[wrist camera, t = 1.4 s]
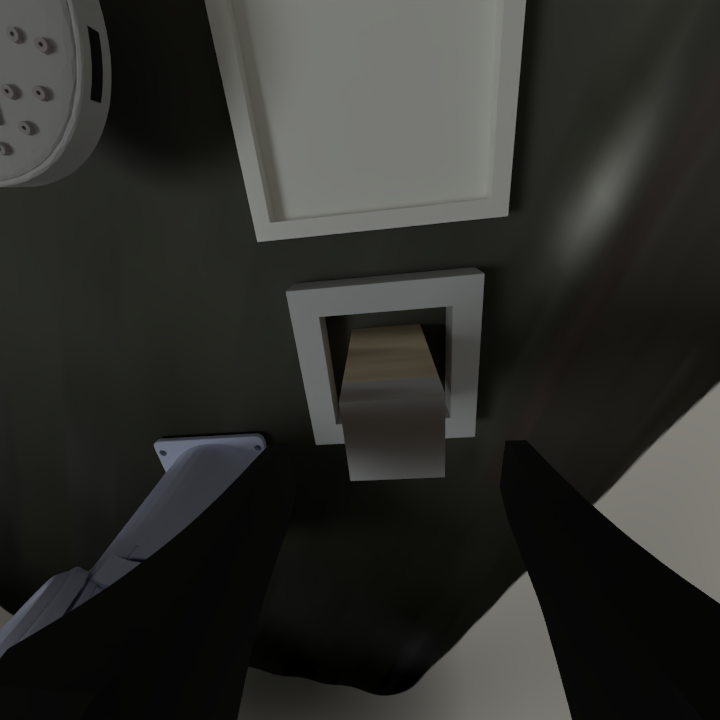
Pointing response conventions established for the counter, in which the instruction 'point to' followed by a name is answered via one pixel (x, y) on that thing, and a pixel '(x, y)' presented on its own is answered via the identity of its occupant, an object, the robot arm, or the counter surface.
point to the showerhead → (51, 88)
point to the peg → (392, 406)
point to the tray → (370, 110)
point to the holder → (380, 295)
